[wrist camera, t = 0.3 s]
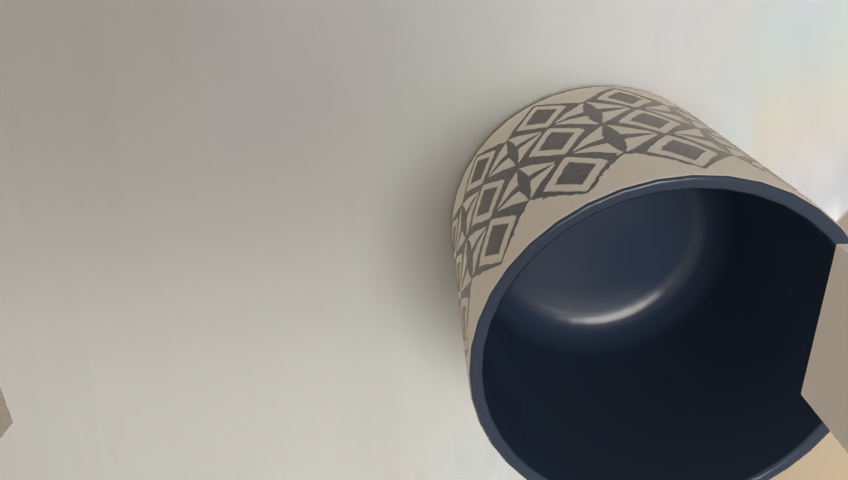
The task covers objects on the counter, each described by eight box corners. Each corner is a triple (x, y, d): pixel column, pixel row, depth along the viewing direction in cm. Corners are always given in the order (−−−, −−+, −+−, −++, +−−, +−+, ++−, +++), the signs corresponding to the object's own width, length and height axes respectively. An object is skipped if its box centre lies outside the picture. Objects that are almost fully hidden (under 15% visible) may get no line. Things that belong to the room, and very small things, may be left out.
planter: (579, 379, 45) (646, 569, 32) (394, 229, 40) (383, 379, 27) (783, 211, 40) (960, 352, 27) (599, 18, 35) (705, 77, 22)
